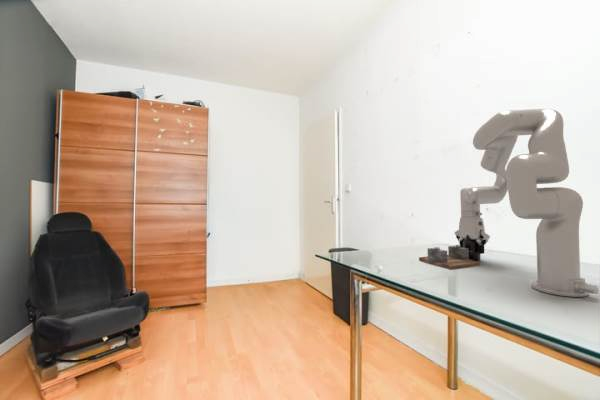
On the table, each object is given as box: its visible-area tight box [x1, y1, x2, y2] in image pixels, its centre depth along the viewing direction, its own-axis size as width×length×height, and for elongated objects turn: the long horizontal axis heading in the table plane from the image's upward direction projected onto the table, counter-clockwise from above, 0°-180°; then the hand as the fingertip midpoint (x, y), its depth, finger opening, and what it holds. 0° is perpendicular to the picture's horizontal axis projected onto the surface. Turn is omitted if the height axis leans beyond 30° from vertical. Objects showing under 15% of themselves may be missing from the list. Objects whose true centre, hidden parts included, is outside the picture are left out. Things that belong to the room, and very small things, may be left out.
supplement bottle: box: [463, 235, 481, 262], centre depth 125 cm, size 7×7×12 cm
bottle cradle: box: [418, 244, 481, 270], centre depth 120 cm, size 18×16×8 cm
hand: (471, 251), depth 125 cm, fingers open, 8 cm apart
